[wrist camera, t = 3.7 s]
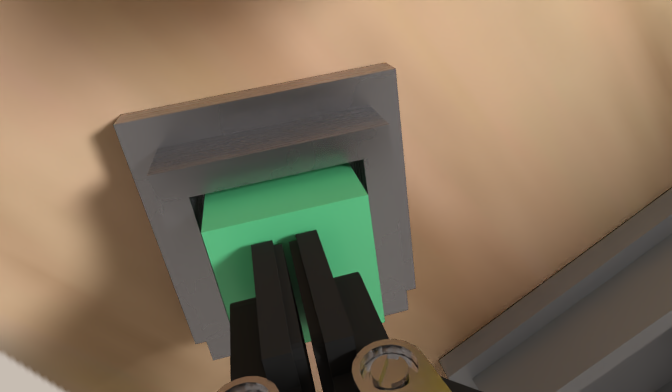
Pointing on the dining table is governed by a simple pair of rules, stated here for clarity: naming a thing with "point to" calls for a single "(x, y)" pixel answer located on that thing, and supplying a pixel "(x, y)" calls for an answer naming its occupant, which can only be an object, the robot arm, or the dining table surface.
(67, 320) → the dining table surface
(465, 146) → the dining table surface
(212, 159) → the button housing
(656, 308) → the divided grey tray
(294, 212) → the button
